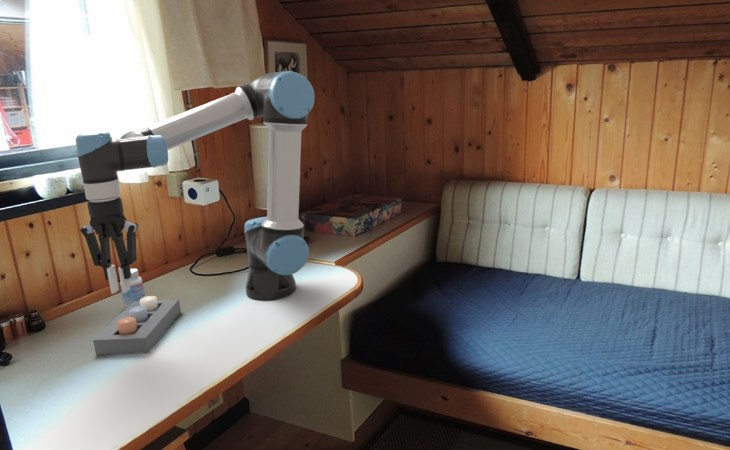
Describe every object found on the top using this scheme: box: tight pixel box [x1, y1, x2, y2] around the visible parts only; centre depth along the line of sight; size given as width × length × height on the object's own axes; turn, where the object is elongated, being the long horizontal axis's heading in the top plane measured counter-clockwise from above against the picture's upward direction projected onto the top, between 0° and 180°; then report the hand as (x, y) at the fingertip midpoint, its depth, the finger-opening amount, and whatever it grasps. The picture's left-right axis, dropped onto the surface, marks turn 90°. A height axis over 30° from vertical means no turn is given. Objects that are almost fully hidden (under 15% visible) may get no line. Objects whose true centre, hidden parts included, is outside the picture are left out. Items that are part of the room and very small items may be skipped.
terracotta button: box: [117, 317, 138, 335], centre depth 144 cm, size 4×4×4 cm
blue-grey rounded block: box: [129, 306, 148, 323], centre depth 151 cm, size 4×4×4 cm
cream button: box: [140, 295, 158, 311], centre depth 158 cm, size 4×4×4 cm
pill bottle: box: [119, 268, 146, 310], centre depth 168 cm, size 6×6×11 cm
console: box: [92, 298, 182, 356], centre depth 152 cm, size 13×24×4 cm, turn 178°
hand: (120, 291), depth 142 cm, fingers open, 2 cm apart
